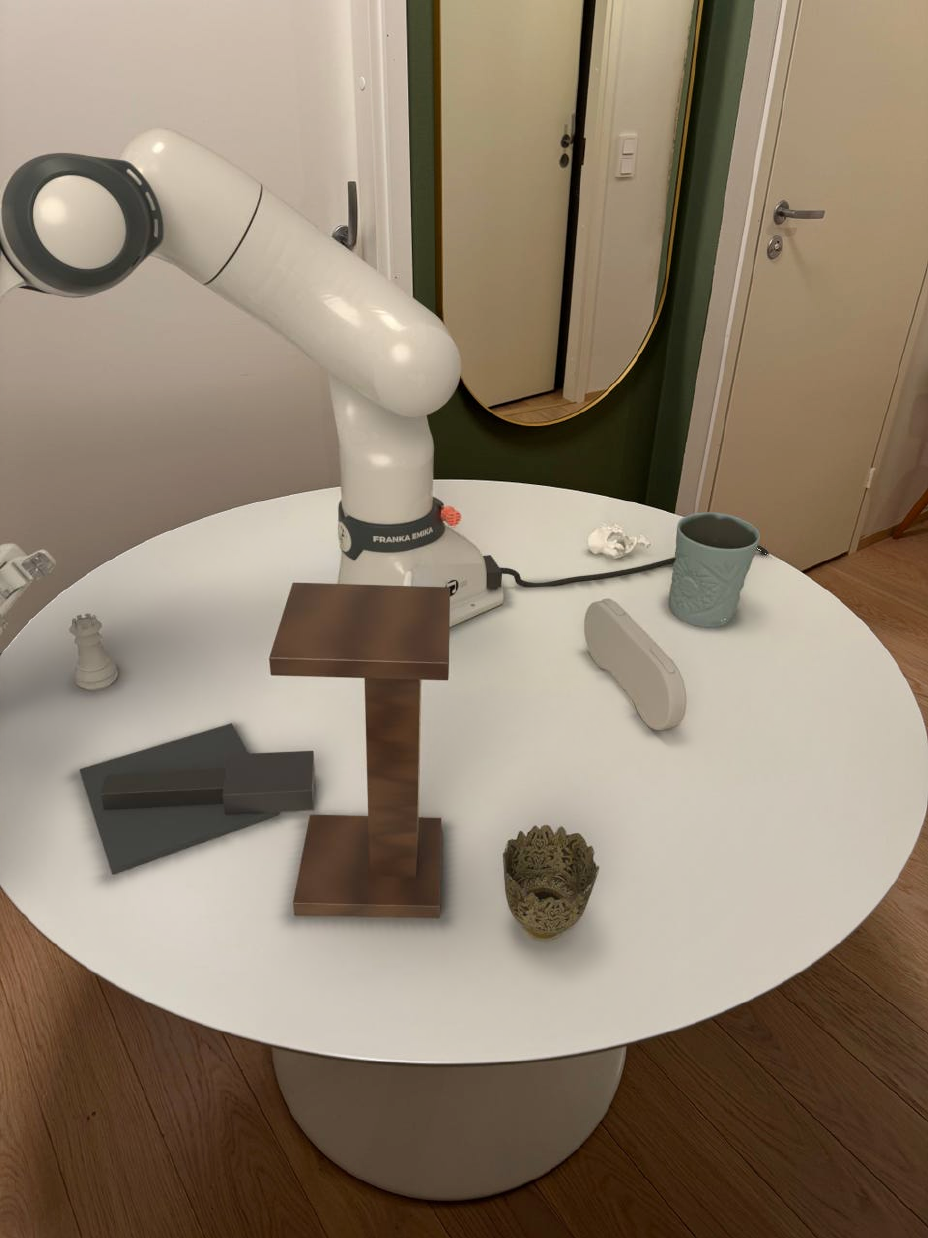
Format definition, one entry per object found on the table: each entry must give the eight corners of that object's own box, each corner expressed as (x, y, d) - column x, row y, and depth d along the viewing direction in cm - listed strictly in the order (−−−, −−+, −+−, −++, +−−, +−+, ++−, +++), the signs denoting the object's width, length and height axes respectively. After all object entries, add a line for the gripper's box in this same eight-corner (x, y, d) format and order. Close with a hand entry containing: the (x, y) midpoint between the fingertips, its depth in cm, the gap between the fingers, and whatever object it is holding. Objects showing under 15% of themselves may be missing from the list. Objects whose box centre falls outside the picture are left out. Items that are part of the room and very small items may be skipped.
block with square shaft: (314, 769, 86) (313, 750, 84) (313, 810, 81) (312, 790, 80) (113, 779, 83) (108, 759, 82) (99, 821, 79) (94, 801, 77)
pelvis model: (613, 546, 122) (583, 523, 126) (608, 571, 124) (578, 548, 129) (655, 532, 125) (625, 511, 130) (649, 557, 128) (619, 535, 132)
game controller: (681, 741, 93) (695, 678, 88) (662, 745, 92) (676, 682, 87) (596, 642, 108) (605, 584, 103) (580, 645, 107) (587, 587, 103)
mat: (232, 728, 91) (231, 723, 91) (279, 814, 81) (279, 808, 81) (81, 775, 85) (79, 769, 84) (112, 874, 75) (110, 868, 74)
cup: (492, 891, 75) (498, 824, 71) (577, 887, 76) (587, 821, 71) (503, 967, 69) (510, 899, 64) (595, 962, 69) (608, 895, 65)
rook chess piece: (105, 695, 95) (91, 634, 91) (68, 688, 96) (52, 627, 92) (126, 671, 99) (114, 611, 95) (90, 665, 100) (76, 606, 95)
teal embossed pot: (730, 593, 119) (749, 513, 113) (748, 634, 111) (770, 550, 104) (656, 589, 119) (671, 509, 113) (668, 630, 111) (685, 546, 104)
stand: (441, 829, 81) (450, 586, 67) (439, 918, 72) (449, 663, 58) (310, 826, 80) (292, 581, 66) (293, 915, 72) (268, 657, 58)
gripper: (-217, 708, 62) (-73, 632, 59) (-71, 566, 79) (47, 502, 76) (-146, 767, 65) (-5, 698, 62) (-20, 618, 82) (95, 558, 79)
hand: (24, 588), depth 69 cm, fingers open, 8 cm apart
